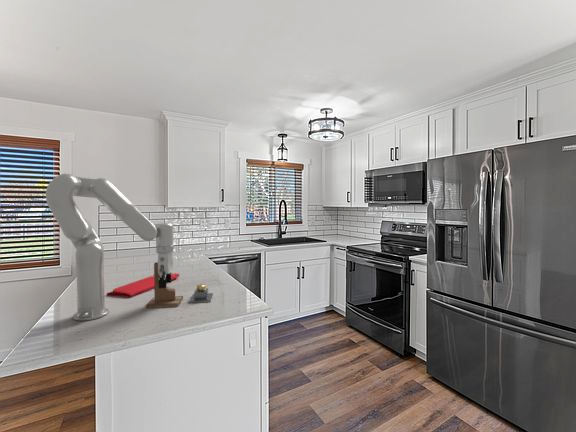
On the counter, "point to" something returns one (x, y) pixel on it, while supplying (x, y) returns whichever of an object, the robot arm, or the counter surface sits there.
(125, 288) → the dish drying mat
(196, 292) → the plate
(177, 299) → the board
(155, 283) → the wooden block
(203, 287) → the button
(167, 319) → the counter surface
